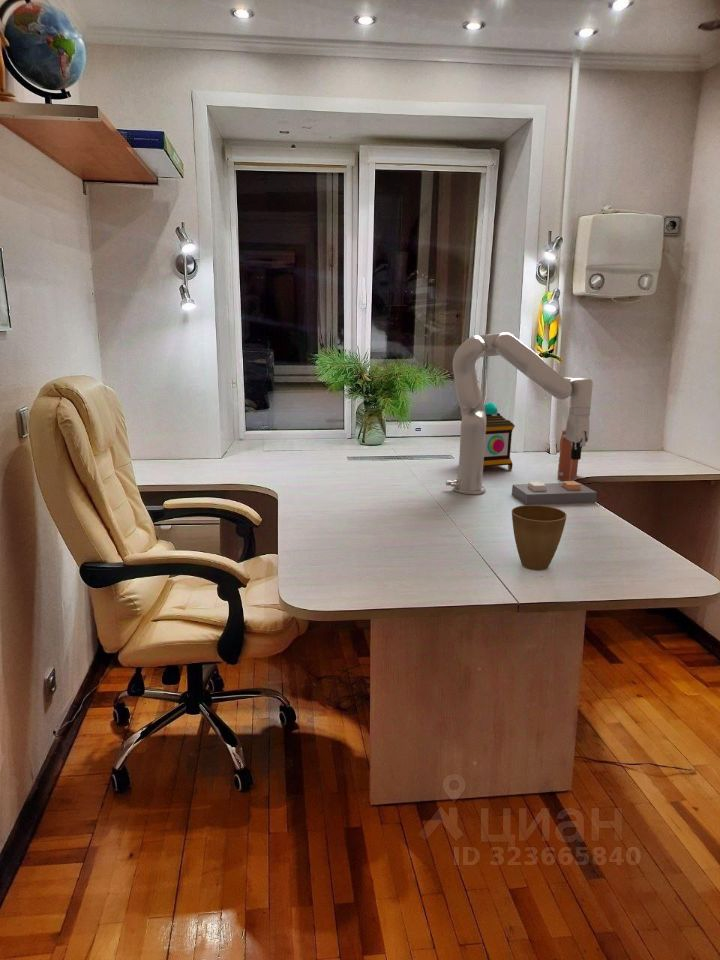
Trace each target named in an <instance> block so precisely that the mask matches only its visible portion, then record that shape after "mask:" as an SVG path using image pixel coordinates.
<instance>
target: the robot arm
mask: <svg viewBox="0 0 720 960" xmlns="http://www.w3.org/2000/svg"><path fill="white" fill-rule="evenodd" d="M495 356H496V357H497V356H500V357H502V358H503V359H504V360H505V361H506V362H507V363H509V364H510V365H512V366H513V367H514V368H516V370H518V371H519V372H521V373H522V374H523V375H524V376H526V378H528V379H530V380H532V381H533V382H534V383H536V384H537V385H538V386H539V387H540V388H542V389H543V390H544V391H546V392H547V393H548V394H549V395H551V396H552V397H554V398H555V399H557V400H565V399H568V398H569V397H570V399H569V407H568V408H569V409H568V410H569V411H568V416H567V421H566V427H565V428H566V433H565V437H566V439H568V440H569V441H570V442H571V448H573V449H572V450H571V459H573V460H578V461H580V460H581V458H582V457H581V456H582V450H583V447H586V443H588V441H589V437H590V436H589V435H590V416H591V409H592V408H591V407H592V406H591V405H592V397H593V396H592V394H593V385H594V384H593V382H594V381H593V380H592V379H591V378H589V377H575V378H573V377H565V376H563V375H562V374H560V373H558V372H557V371H556V370H555V369H553V368H552V367H551V366H550V365H549V364H547V362H546V361H545V360H544V359H543V358H542V357H541V356H539V354H537V353H536V352H535V351H534V350H532V349H531V348H530V347H528V346H527V345H526V344H524V343H523V341H521V340H519V339H518V338H517V337H516V336H514V334H512V333H510V332H499V333H491V334H480V335H473V336H470V337H468V338H467V339H466V340H465V341H464V342H463V343H461V345H459V347H457V348H456V351H455V353H454V355H453V359H452V372H453V377H454V384H455V392H456V399H457V403H458V404H459V408H460V413H461V414H460V415H461V422H460V432H459V433H460V437H459V438H460V439H459V441H460V442H459V460H458V473H457V474H458V476H457V477H455V479H453V480H446V481H445V486H449V487H453V491H454V492H456V493H459V494H464V495H480V494H481V495H482V494H484V493H485V492H486V487H485V486H484V485H483V474H484V467H483V461H484V447H485V434H486V413H485V407H484V405H485V402H484V396H483V391H482V389H481V386H480V385H479V382H478V376H477V369H476V363H477V360H479V359H481V358H485V357H487V358H488V357H495Z"/></svg>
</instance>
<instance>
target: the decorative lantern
mask: <svg viewBox="0 0 720 960" xmlns="http://www.w3.org/2000/svg"><path fill="white" fill-rule="evenodd" d="M484 407H485V413H486V434H485V447H484V461H483V468H488V467H498V466H499V467H500V466H501V467H502V466H507V469H508V471H512V470H513V462H512V459H511V447H512V437H513V436H512V435H513V430H514V428H515V427H516V425H515V424H514V423H513V422H512V421H511V420H509V419H507V418H505V417H503V416H502V415H501V413H499V412H498V407H497V406H496V405H495V403H493V402H490V401H489V402H486V403H484Z"/></svg>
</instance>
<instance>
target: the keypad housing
mask: <svg viewBox="0 0 720 960" xmlns="http://www.w3.org/2000/svg"><path fill="white" fill-rule="evenodd" d="M578 483H579V484H581V487H580V490H566V489H565V488H563V487H562V482H559V483H557V482H556V483H555V482H554V483H544V484H545V485H546V491H532V490H530V489H529V488H528V483H519V484H518V483H517V484H515V483H513V484H512V485H511V495H512V496H513V497H515V499H517V500H519V501H520V502H521V503H522V504H525V505H557V504H558V505H559V504H561V505H562V504H563V505H564V504H590V503H592V502H594V503H597V495H598V491H595V490H593V489H591V488H590V487H587V486H586V485H585V484H582V483H580V482H578Z"/></svg>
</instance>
